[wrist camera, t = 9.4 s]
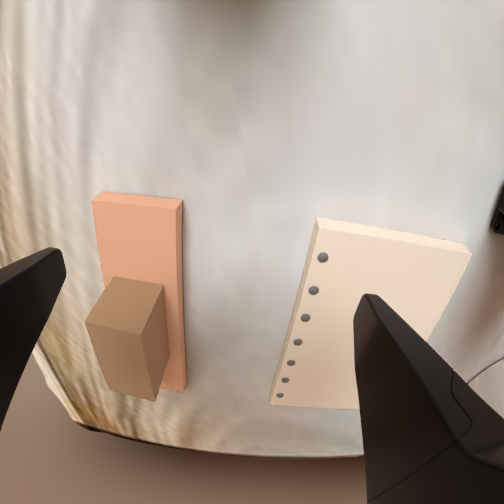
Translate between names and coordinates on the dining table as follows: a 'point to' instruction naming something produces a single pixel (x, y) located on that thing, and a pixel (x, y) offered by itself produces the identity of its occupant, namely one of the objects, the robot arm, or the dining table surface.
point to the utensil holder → (491, 386)
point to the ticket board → (348, 297)
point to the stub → (139, 294)
